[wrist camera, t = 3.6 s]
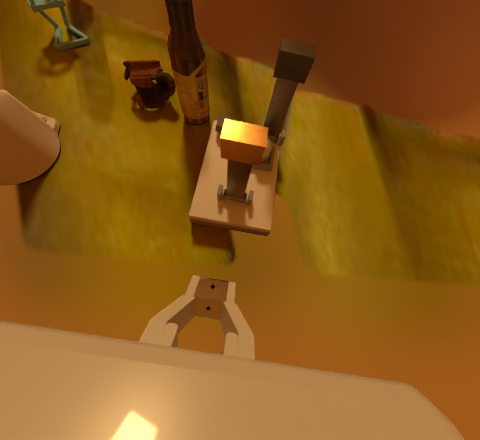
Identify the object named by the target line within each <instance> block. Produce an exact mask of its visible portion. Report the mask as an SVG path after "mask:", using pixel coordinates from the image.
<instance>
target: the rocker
mask: <svg viewBox="0 0 480 440" xmlns="http://www.w3.org/2000/svg"><path fill="white" fill-rule="evenodd" d="M225 119H229V120H234V121H239V122H241V121H240V120H237V119H235V118H232V117H229V116H226V115H224V114H221V113H219V116H218V120H217V124H216V129H215V131H217V132H220V133H222V129H223V125H224V121H225Z"/></svg>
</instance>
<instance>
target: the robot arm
mask: <svg viewBox="0 0 480 440" xmlns="http://www.w3.org/2000/svg"><path fill="white" fill-rule="evenodd" d="M59 127H60V124H59V122H57V121H56V120H55V119H53V118H51V117H48V116H45V115H42V114H39V113H36V112H33V111H31V110H30V109H28V108H27V107H26V106H25V105H23V104H22V103H21V102H20V101H18V100H17V99H16V98H15V97H13V96H12V95H11V94H9V93H8V92H7V91H5V90H0V185H14V184H19V183H23V182H26V181H29V180H32V179H34V178H36V177H38V176H39V175H41V174H42V173H44V172H45V171H46V170H47V169H48V168H50V166H51V165H52V164H53V163H54V162H55V160H56V158H57V156H58V154H59V150H60V142H59V138H58V131H59ZM235 291H236V283H235V282H229V281H224V280H217V279H211V278H206V277H200V276H195V275H193V277H192V279H191V281H190V284H189V286H188V289H187V291H186V294H185V295H182V296H181V297H179V298H178V299H177V300H175V301H174V302H173V303H171V304H170V305H169V306H167V307H166V308H165V309H163V310H162V311H161V312H159V313H158V314H157V315H155V316H154V317H153V318H151V320H150V321H149V323H148V325H147V327H146V329H145V331H144V333H143V335H142V336H141V338H140V341H139V342H136V341H130V340H124V339H118V338H111V337H104V336H98V335H91V334H85V333H79V332H72V331H65V330H59V329H53V328H46V327H40V326H34V325H27V324H21V323H15V322H8V321H2V320H0V440H465V439H464V438H463V436H462V435H461V434H460V432H459V431H458V430H457V429H456V427H455V426H454V425H453V423H452V422H451V421H450V420H449V419H448V418H447V417H446V416H445V415H444V414H443V413H442V412H441V411H440V410H438V409H437V408H436V407H435V406H434V405H433V404H432V403H431V402H430V401H429V400H428V399H427V398H425V397H424V396H423V395H422V394H421V393H420V392H419V391H417V390H416V389H415V388H414V387H412V386H411V385H409V384H406V383H402V382H397V381H390V380H384V379H377V378H371V377H364V376H357V375H351V374H345V373H338V372H331V371H326V370H319V369H312V368H306V367H300V366H293V365H287V364H280V363H274V362H266V361H261V360H255V358H254V335H253V333H252V331H251V329H250V328H249V326H248V324H247V322H246V320H245V318H244V317H243V315H242V313H241V311H240V309H239V307H238V306H237V304H235V303H234V302H235ZM194 316H202V317H208V318H213V319H219V320H220V323H221V326H222V328H223V331H224V334H225V341H224V345H223V349H222V352H221V354H214V353H209V352H202V351H196V350H188V349H182V348H177V346H178V333H179V332H180V331H181V329H183V328H184V327H185V325H186V324H187V323H188V322H189V321H190V320H191V319H192V318H193V317H194Z"/></svg>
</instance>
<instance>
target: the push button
mask: <svg viewBox="0 0 480 440" xmlns="http://www.w3.org/2000/svg"><path fill="white" fill-rule="evenodd" d="M272 147H273V143H272V141H271V140H270V139H268V138H267V141H266V148H265V151H264V153H263V156H262V159H261V162H265V161H267V160H268V157H269V155H270V152H271V150H272Z"/></svg>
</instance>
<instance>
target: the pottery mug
mask: <svg viewBox="0 0 480 440" xmlns="http://www.w3.org/2000/svg"><path fill="white" fill-rule="evenodd" d="M123 65H125V67H126V70H125V73H124V78H125V80H128V79H129V77H130V81H131V83H132V84H133V85H135V87H136V89H137V91H138V93H139V95H140V96H135V100H136V101H137V103H138V105H139V107H140V108H151V109H153V108H161V107H164V105H163V98H164V99H165V100H168V99H169V98H170V96H172V95H173V94H174V92H175V87H176V85H175V81H174V79H173V77H172V76H171V75H170V74H168V73H163V69H162V68H161V66H160V61H157V60H139V61H125V62H123ZM152 80H156V82H157V84H156V85H154V83H153V81H152Z"/></svg>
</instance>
